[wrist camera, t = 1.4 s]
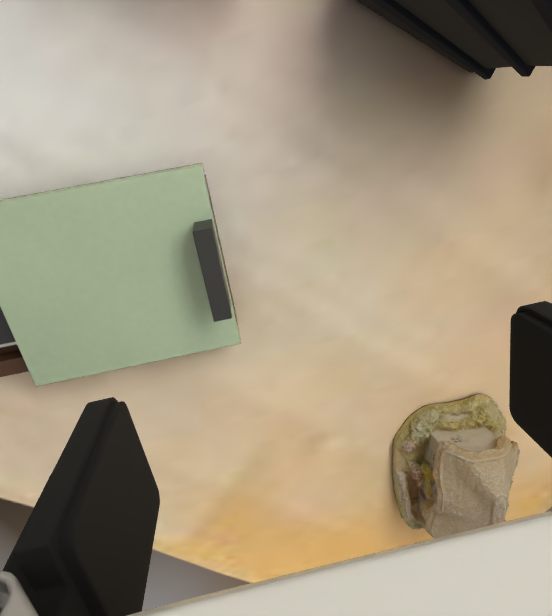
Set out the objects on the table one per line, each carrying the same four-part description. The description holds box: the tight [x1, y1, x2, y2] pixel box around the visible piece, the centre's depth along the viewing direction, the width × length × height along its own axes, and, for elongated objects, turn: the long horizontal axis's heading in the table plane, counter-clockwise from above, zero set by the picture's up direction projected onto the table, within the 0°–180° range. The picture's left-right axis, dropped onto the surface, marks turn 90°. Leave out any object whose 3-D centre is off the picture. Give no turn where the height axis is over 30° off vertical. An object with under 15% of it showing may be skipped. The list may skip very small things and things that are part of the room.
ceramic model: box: [393, 394, 520, 539], centre depth 39 cm, size 14×11×10 cm
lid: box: [0, 163, 241, 386], centre depth 29 cm, size 15×13×5 cm
